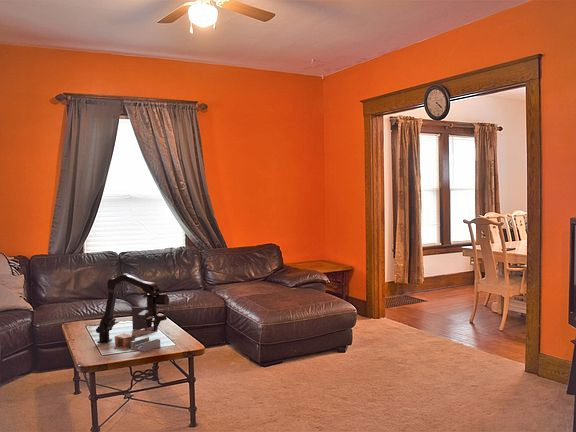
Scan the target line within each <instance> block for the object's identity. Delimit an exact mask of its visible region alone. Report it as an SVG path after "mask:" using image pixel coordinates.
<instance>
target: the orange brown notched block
mask: <svg viewBox="0 0 576 432" xmlns="http://www.w3.org/2000/svg"><path fill="white" fill-rule="evenodd" d="M135 340H136V338H133V337H132V334H129V333H121V334H116V335H115V336H114V347H117V348H118V347H121V346H122V349H128V348H131V341H135Z"/></svg>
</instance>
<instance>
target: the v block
mask: <svg viewBox="0 0 576 432" xmlns="http://www.w3.org/2000/svg"><path fill="white" fill-rule="evenodd" d="M157 348H161V339H160V338H156V339H153V340H151V339H150V337H149V336H146V337H140V338H139V339H138V338H137V339H135V341H131V347H130V349H131V350H136V351H141V352H147V351H150V350H153V349H157Z"/></svg>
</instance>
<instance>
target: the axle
mask: <svg viewBox="0 0 576 432" xmlns="http://www.w3.org/2000/svg"><path fill="white" fill-rule="evenodd" d="M158 331H159V328H157V330H156V331H155V332H154V325H152V326H151V327H147V328H144V329H140V330H132V332H131V335H132V337H133V338H135V339H136V338H137V339H138V338H142V337H144V336H149V335H151V334H154V333H157V332H158Z"/></svg>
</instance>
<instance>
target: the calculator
mask: <svg viewBox="0 0 576 432" xmlns="http://www.w3.org/2000/svg"><path fill="white" fill-rule="evenodd" d="M145 307H146V306H132V307H131V315H132V319H131V320H132V322H131V323H132V331H137V330H140V329H144V328H147V327H148V326H147V324H146V322H145V321H144V320H142V319H140V318H138V314H139V313H141V312H142V311H144V310H145Z"/></svg>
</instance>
